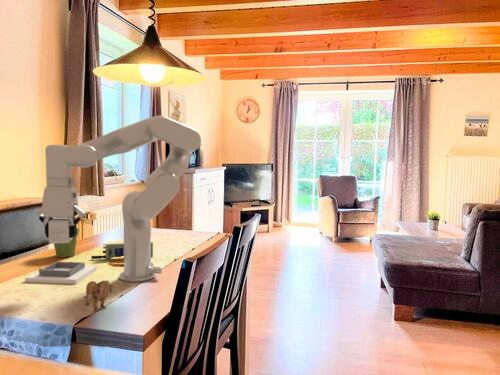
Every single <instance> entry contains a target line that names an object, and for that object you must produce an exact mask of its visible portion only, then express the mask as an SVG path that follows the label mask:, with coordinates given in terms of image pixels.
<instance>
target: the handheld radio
mask: <svg viewBox="0 0 500 375" xmlns="http://www.w3.org/2000/svg"><path fill="white" fill-rule="evenodd" d="M102 248H103V249H105V250H103V251H102V254H105V255H91V260H96V259H97V260H102V259H105V261H110V260H109V259H111V258H113V257H121V256H124V242H123V243H104V244H103V247H102ZM153 251H154V244H153V242H152V241H151V258H153V257H154V256H153V255H154V252H153Z"/></svg>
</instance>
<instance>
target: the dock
mask: <svg viewBox="0 0 500 375" xmlns="http://www.w3.org/2000/svg"><path fill="white" fill-rule="evenodd" d="M85 264H86V263H85V262H82V261H81V262H79V261H78V262H76V261H55V262H53V263H51V264H49V265H47V266H44V267H43V268H39V269H38V270H37V271H35V272H33V273H32V274H30V275H28V276H26V277H24V282H25V283H42V284H43V283H44V284H45V283H46V284H47V283H48V284H65V283H66V284H67V285H69V284H70V285H77V284H78V283H80V282H81V281H82V280H84V279H86V278H88V277H89V276H90V275H92V274H93V273H95V272H96V271H98V268H97V267H98V266H97V265H85Z"/></svg>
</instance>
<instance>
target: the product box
mask: <svg viewBox="0 0 500 375" xmlns="http://www.w3.org/2000/svg"><path fill="white" fill-rule="evenodd" d="M48 224H49V237H48V244H49V245H50V244H51V245H52V244H53V245H54V243H69V242H70V241H71V240H72V238H70V237H69V226H71V224H70V222H69V221H68V219H67V218H53V219H51V220H50V221H48Z"/></svg>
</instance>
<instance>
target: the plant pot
mask: <svg viewBox="0 0 500 375" xmlns="http://www.w3.org/2000/svg"><path fill="white" fill-rule="evenodd" d="M80 231H81V229H80V228H78V227H77V234H76V236H75V237H73V238H72V240H71V241H70V242H69V243H54V244H53V247H54V250H55V251H54V252H55V256H56V257H57V258H62V259H63V258H64V259H65V258H66V257H69V258H71V257H74V256H75V255H76V249H77V242H78V236H79V232H80Z"/></svg>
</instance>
